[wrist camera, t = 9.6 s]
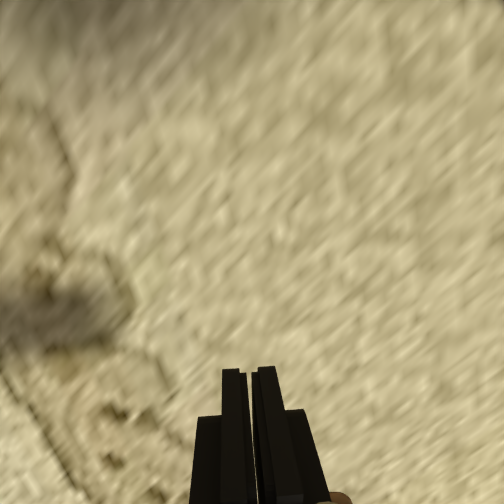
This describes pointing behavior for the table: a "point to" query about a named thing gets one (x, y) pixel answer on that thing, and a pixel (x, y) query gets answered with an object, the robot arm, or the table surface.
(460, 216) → the table surface
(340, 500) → the post
